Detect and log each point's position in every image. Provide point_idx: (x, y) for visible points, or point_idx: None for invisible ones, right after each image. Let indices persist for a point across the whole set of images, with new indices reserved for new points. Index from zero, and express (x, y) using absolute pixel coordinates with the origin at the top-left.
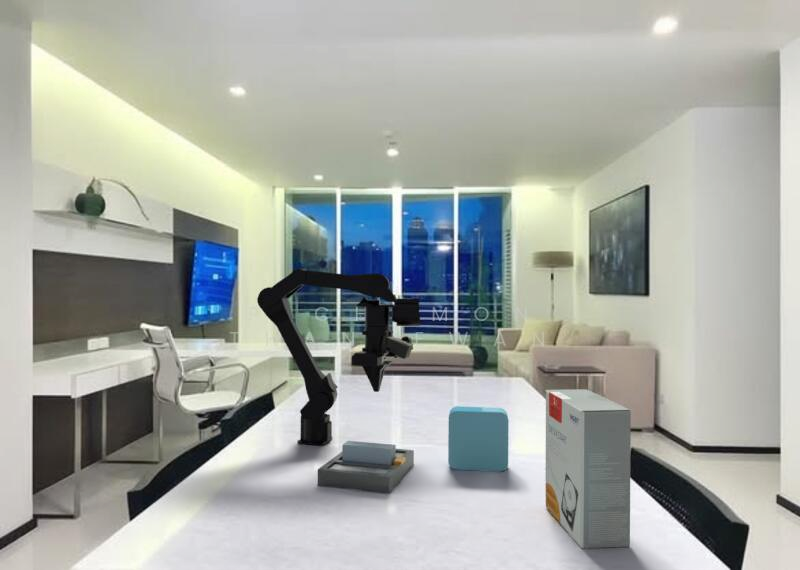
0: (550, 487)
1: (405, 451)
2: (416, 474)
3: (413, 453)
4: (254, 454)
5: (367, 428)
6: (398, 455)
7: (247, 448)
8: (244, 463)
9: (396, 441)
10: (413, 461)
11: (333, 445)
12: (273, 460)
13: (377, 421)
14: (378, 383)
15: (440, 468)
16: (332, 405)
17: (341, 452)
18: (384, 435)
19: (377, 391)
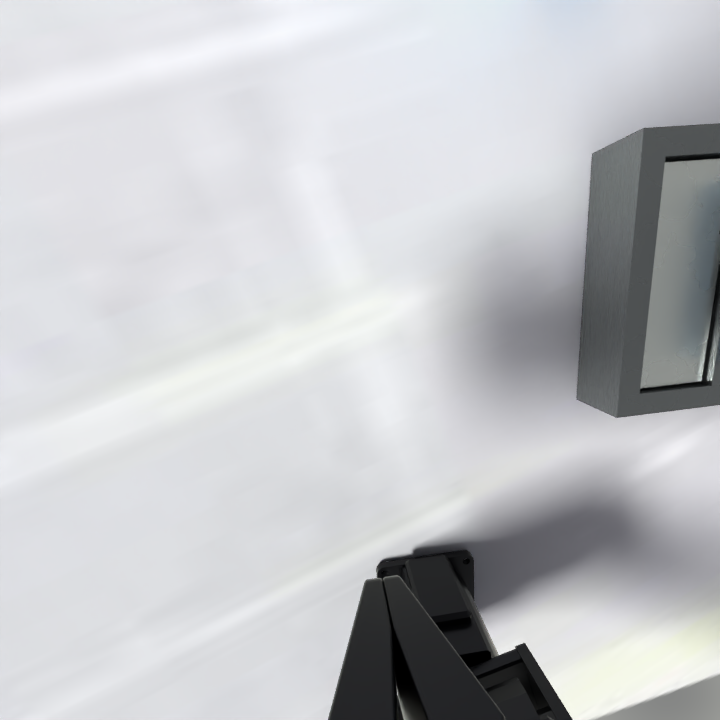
0: None
1: (663, 163)
2: (695, 104)
3: (636, 133)
4: (598, 652)
5: (168, 529)
6: (693, 183)
7: None
8: (675, 625)
9: (307, 340)
10: (607, 147)
11: (447, 521)
12: (638, 583)
13: (26, 547)
14: (454, 653)
15: (612, 23)
16: (525, 691)
17: (717, 402)
18: (240, 422)
19: (398, 580)
